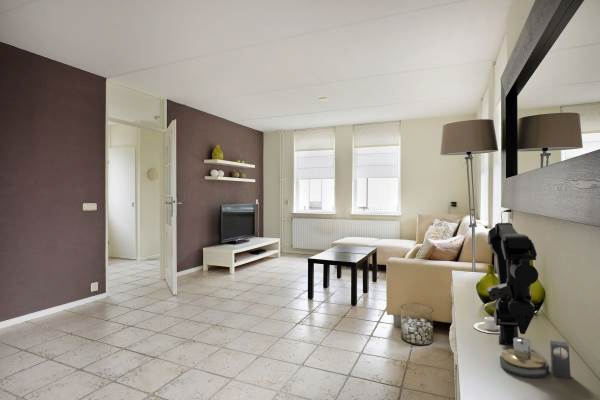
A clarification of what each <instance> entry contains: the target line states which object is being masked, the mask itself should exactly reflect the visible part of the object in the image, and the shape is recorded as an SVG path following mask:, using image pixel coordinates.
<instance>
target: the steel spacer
mask: <svg viewBox="0 0 600 400" xmlns="http://www.w3.org/2000/svg"><path fill="white" fill-rule="evenodd" d="M513 343H514V345H513V349H514V356H515V357H516V358H518V359H522V360H530V359H531V352H532V344H531V339H528V338H525V337H521V336H519V337H516V338H513Z"/></svg>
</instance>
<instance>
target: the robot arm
mask: <svg viewBox="0 0 600 400" xmlns="http://www.w3.org/2000/svg"><path fill="white" fill-rule="evenodd" d="M487 244H488V245H489V247H490V248H489V249H490V251H491V252H492V253H493V254H494V255H495V259H496V270H497V279H498V284H497V285H493V286H489V287H488V288H487V289H486V291H487V294H488V296H489V297H490V300H491V301H496V302H495V303H496V304H495V308H494V311H493V318H494V322H495V324H496V326H497V327H498V326H499V327H498V328H499V332H500V333H499V335H498V343H499V344H501V345H508V346H514V343H513V338H516V337H520V336H519V334H520V335H526V332H527V330H528V328H529V326H530V324H531V321H532V320H533V318H534V316H535V315H536V307H535V304H534V303H533V302H532V294H531V286H532V285H533V284H535V283H536V282H537V281H538V278H539V272H538V269H537V268H536V267H535V266H534V265H532V264H531V261H536V260H537V255H538V254H537V251H536V248H535V245H534V244H535V243H534V242H533V241H532V239H530V237H529V236H528V235H526V234H522V233H518V232H517V231H516V230H515V228H514V227H513V223H510V222H497V223H495V225H494V227H492V228H491V229H489V230H488V232H487Z"/></svg>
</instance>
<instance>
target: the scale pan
mask: <svg viewBox="0 0 600 400" xmlns="http://www.w3.org/2000/svg"><path fill="white" fill-rule="evenodd" d="M501 355H502V359H503V360H504V361H506V362H507V363H509V364H511V365H514V366H517V367H521V368H527V369H540V368H543V367H545V366H546V362H547V360H546V358H545V357H544V356H542V355H541V354H539V353H537V352H534V351H531V359H530V360H522V359H518V358H516V357H515V356H514V348H508V349H505V350H503V351H502V352H501Z"/></svg>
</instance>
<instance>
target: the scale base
mask: <svg viewBox="0 0 600 400" xmlns="http://www.w3.org/2000/svg"><path fill="white" fill-rule="evenodd" d="M549 347H550V362H551V363H550V365H551V373H552V376H553V377H559V378H564V379H565V378H566V379H572V378H571V376H572V375H571V362H570V347H569V344H568V343H567V342H565V341H557V340H549ZM499 365H500V366H499V367H500V368H502V369H503V370H504V371H505V372H507V373H509V374H511V375H514V376H517V377H522V378H526V379H544V378H546V377H548V376H549V374H550V368H549V363H548V362H547V361H546V366H545V367H543V368H540V369H527V368H521V367H517V366H514V365H511V364H509V363H507V362H506V361H504V360H503V359H502V354H501V355H500V356H499Z"/></svg>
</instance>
